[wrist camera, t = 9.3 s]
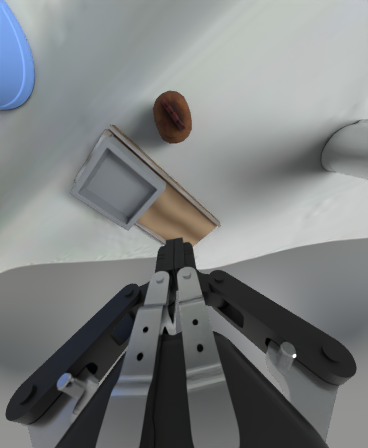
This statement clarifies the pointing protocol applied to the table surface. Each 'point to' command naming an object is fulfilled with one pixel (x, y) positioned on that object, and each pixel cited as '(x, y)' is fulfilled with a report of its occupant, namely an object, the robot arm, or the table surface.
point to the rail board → (166, 202)
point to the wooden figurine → (172, 117)
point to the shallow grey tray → (118, 184)
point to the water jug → (14, 61)
